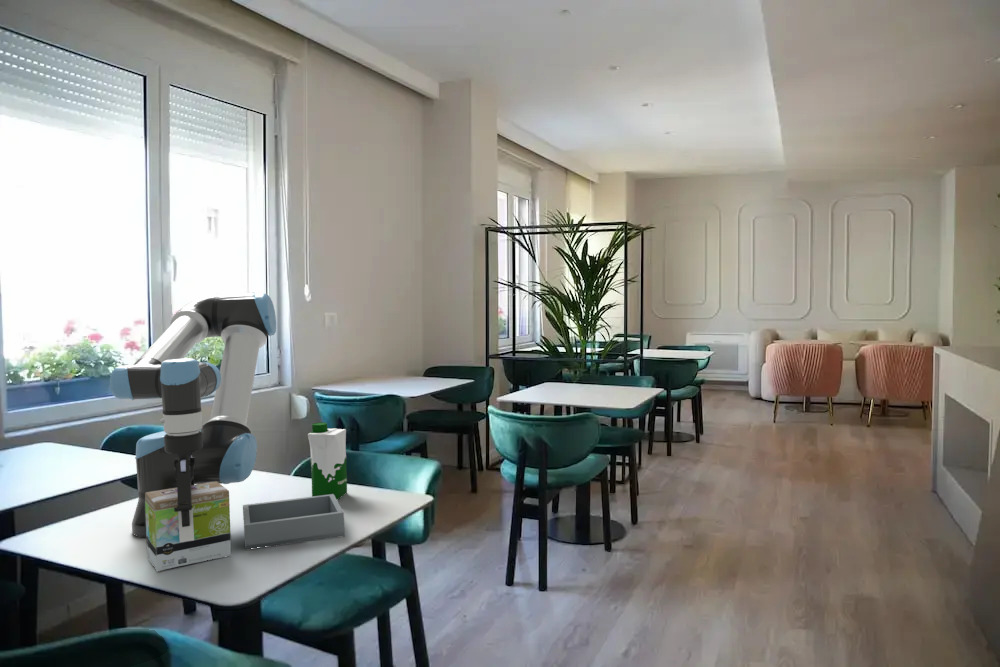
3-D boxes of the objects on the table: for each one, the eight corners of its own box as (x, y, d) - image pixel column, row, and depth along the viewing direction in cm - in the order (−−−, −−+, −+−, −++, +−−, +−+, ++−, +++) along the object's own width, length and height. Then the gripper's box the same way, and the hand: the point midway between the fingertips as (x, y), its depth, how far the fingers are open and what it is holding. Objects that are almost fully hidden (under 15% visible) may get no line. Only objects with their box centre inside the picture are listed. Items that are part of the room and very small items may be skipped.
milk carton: (321, 491, 207) (318, 420, 205) (352, 492, 205) (349, 421, 204) (307, 500, 198) (304, 426, 197) (338, 501, 196) (335, 427, 195)
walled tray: (243, 527, 177) (242, 504, 177) (334, 515, 184) (333, 493, 184) (245, 550, 162) (244, 525, 161) (344, 536, 169) (343, 512, 169)
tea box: (157, 574, 149) (152, 502, 148) (147, 559, 158) (142, 491, 157) (232, 556, 158) (229, 488, 157) (219, 543, 166) (216, 479, 165)
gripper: (167, 423, 166) (172, 516, 168) (159, 445, 143) (164, 552, 144) (203, 421, 169) (208, 512, 170) (200, 441, 146) (206, 547, 147)
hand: (188, 531), depth 157 cm, fingers open, 13 cm apart
